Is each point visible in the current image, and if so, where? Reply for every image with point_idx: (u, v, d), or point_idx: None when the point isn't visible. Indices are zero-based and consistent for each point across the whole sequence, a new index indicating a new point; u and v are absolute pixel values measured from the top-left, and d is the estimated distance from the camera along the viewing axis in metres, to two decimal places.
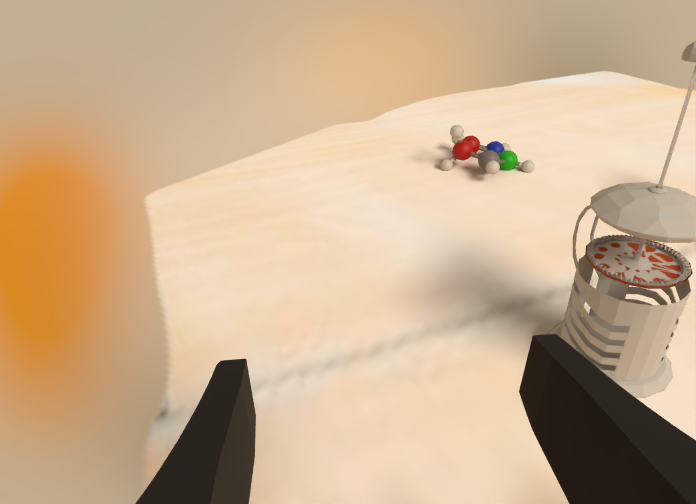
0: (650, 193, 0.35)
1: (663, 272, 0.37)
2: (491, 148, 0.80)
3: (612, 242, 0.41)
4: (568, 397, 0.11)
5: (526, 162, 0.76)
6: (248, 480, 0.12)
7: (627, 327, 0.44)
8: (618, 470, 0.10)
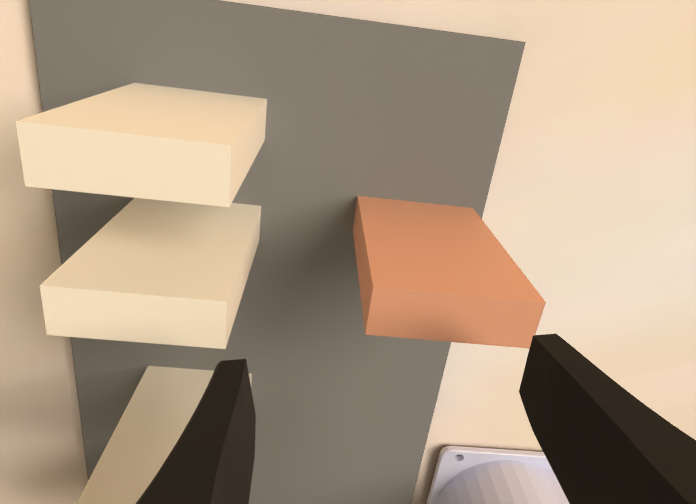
0: None
1: None
2: None
3: None
4: (568, 397, 0.11)
5: None
6: (248, 480, 0.12)
7: None
8: (618, 470, 0.10)
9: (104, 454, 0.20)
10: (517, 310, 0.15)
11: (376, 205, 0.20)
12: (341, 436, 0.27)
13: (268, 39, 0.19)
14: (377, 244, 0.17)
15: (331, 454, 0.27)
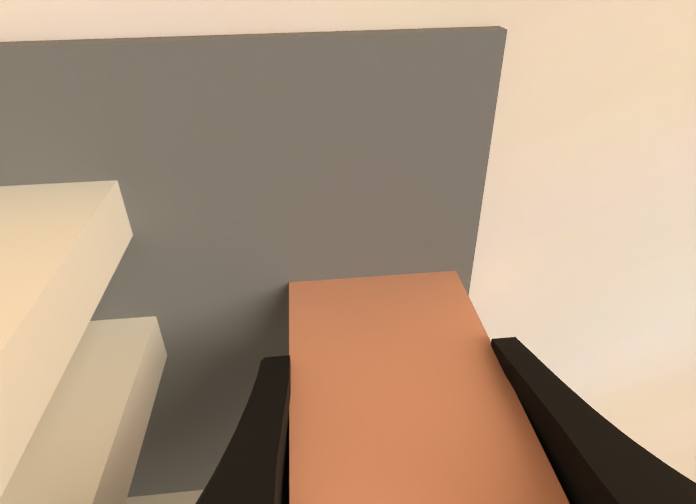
0: None
1: None
2: None
3: None
4: (522, 401, 0.11)
5: None
6: None
7: None
8: (565, 475, 0.09)
9: None
10: None
11: (314, 302, 0.14)
12: None
13: (89, 94, 0.11)
14: (308, 420, 0.11)
15: None
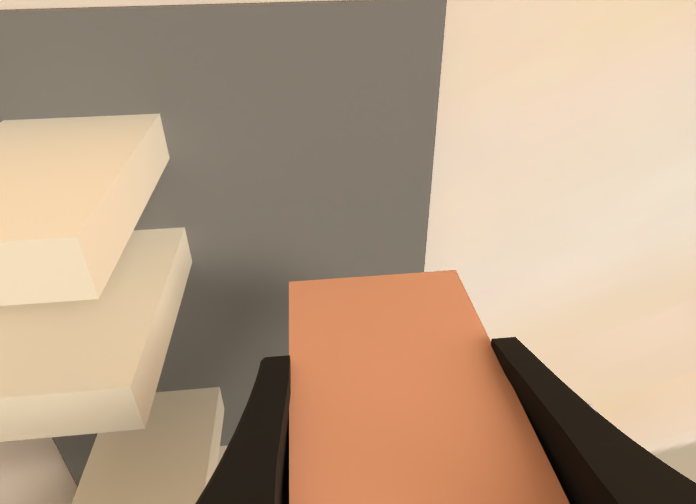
0: None
1: None
2: None
3: None
4: (522, 401, 0.11)
5: None
6: None
7: None
8: (565, 475, 0.09)
9: None
10: None
11: (314, 301, 0.14)
12: None
13: (142, 46, 0.16)
14: (307, 419, 0.11)
15: None
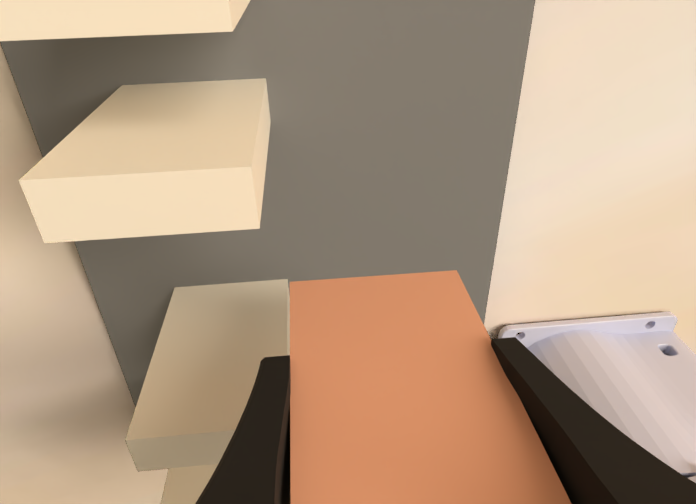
0: None
1: None
2: None
3: None
4: (522, 401, 0.11)
5: None
6: None
7: None
8: (565, 475, 0.09)
9: (147, 380, 0.18)
10: None
11: (315, 301, 0.14)
12: None
13: None
14: (308, 420, 0.11)
15: None
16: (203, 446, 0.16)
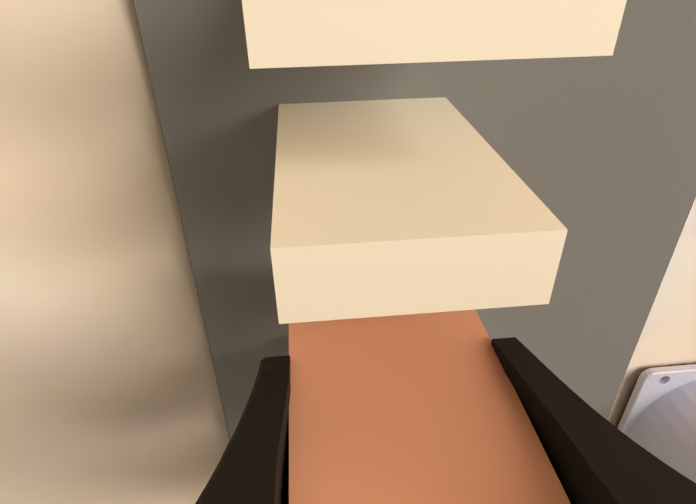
0: None
1: None
2: None
3: None
4: (522, 401, 0.11)
5: None
6: None
7: None
8: (565, 475, 0.09)
9: None
10: None
11: None
12: None
13: None
14: (307, 420, 0.11)
15: None
16: None
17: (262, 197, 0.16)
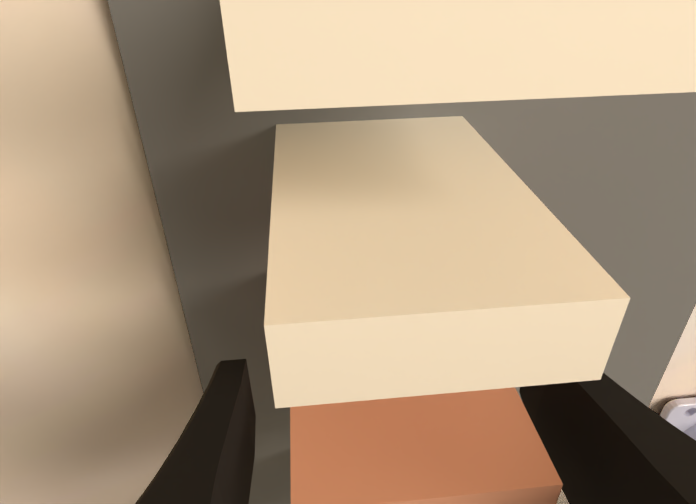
0: None
1: None
2: None
3: None
4: (568, 397, 0.11)
5: None
6: (248, 480, 0.12)
7: None
8: (618, 470, 0.10)
9: None
10: (520, 499, 0.09)
11: None
12: None
13: None
14: None
15: None
16: None
17: (258, 225, 0.15)
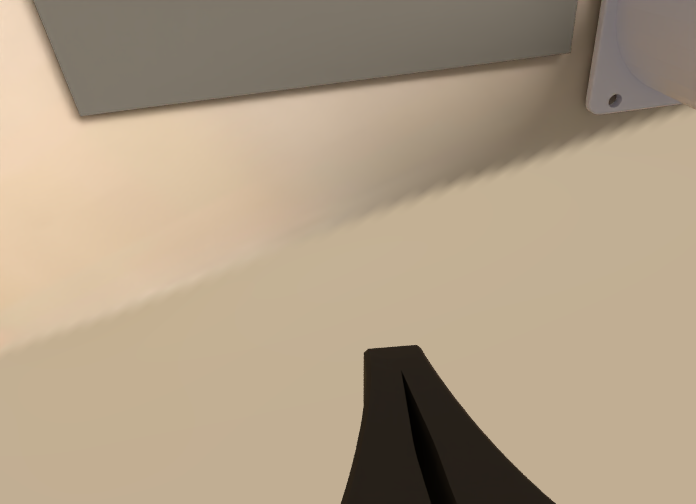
0: None
1: None
2: None
3: None
4: (410, 411, 0.11)
5: None
6: None
7: None
8: (437, 489, 0.09)
9: None
10: None
11: None
12: None
13: None
14: None
15: None
16: None
17: None
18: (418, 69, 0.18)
